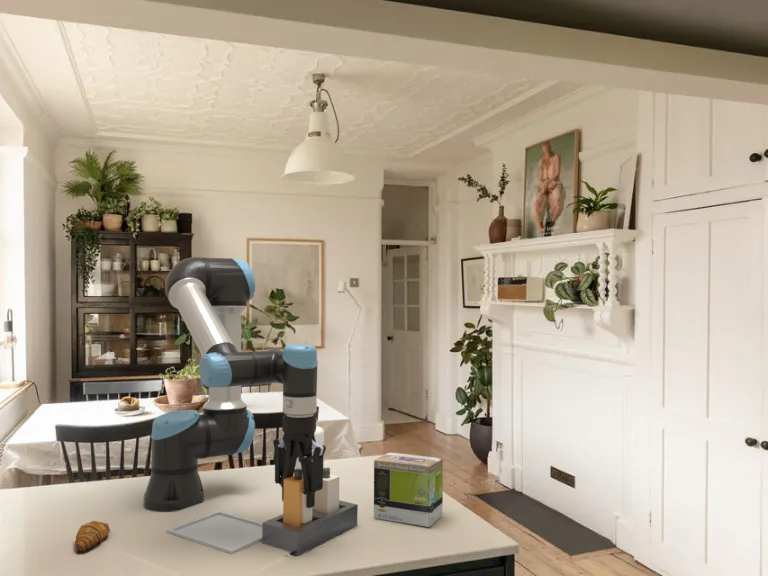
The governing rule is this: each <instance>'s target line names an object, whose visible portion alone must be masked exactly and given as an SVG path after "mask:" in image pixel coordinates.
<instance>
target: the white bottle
mask: <svg viewBox="0 0 768 576" xmlns="http://www.w3.org/2000/svg"><path fill="white" fill-rule="evenodd" d="M318 424H319V423H318V419H317V418H316V431H315V433H314V437H315V440H316V443H317V444H319V445H320V446H322V445H324V446H325V430H324V429H323V427H321V426H319V425H318ZM312 451H313V449H312ZM312 455H313V453H312ZM305 457H307V456H305ZM324 457H325V455H324V456H323V468H325V467H324V464H325V460H324V459H325V458H324ZM295 469H302V468H301V463H300V462H299V459H298V458H297V460H296V465H295ZM302 476H303V475H302Z"/></svg>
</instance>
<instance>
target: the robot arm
mask: <svg viewBox="0 0 768 576" xmlns="http://www.w3.org/2000/svg"><path fill="white" fill-rule="evenodd" d="M166 276H167V277H166V279H165V285H164V286H165V287H164V289H165V294H166V297H167V299H168V301H169V303H170V305H171V306H172V307H173V308H175V309H177V310H178V312H179V314H180V315H181V318H182V321H183V322H184V323H185V326H186V327H187V329H188V331H189V333H190V335H191V337H192V339H193V341H194V343H195V345H196V347H197V349H198V351H199V352H200V354H201V358H200V360H199V364H198V365H199V368H198V372H199V375H200V377H199V378H200V381H201V383H202V385H203V386H205V387H207V388H208V392H209V393H208V401H207V402H206V403H205V404H204V405H203V407H202V408H203V409H202V410H203V413H202V414H200V413H199V411H198V410H196V409H178V410H173V411H168V412H166V413H163V414H160V415H159V416H157V417H156V418H155V419H154V420H153V422H152V428H151V435H150V437H151V467H150V468H151V469H150V470H151V472H150V477H149V480H148V484H147V487H146V489H145V493H144V495H143V507H144V508H146V509H147V510H151V511H154V512H155V511H156V512H177V511H182V510H185V509H188V508H191V507H194V506H197V505H200V504H203V503H204V502H205V489H204V487H203V484H202V480H201V478H200V477H201V476H200V473H199V471H198V469H199V467H198V466H199V464H198V463H199V460H201V459H207V458H209V459H210V458H214V457H221V456H233V455H235V454H239V453H243V452H245V451H247V450H248V449H249V447H251V445H252V442H253V441H254V440H253V439H254V437H255V432H256V431H255V429H256V423H255V420H254V415H253V413H252V412H251V410H249V409H247V408H248V407H247V403H245V401H243V399H242V386H247V385H248V386H249V385H252V386H253V385H262V384H275V383H277V384H282V413H283V416H282V418H281V419H282V420H281V421H282V422H281V423H282V425H281V428H282V429H281V430H282V433H283V435H282V437H279V438H276V439H274V440H272V442H273V443H272V444H273V447H274V483H275V484H278V485H279V486H280V487H281V501H282V502H283V495H284V479H286V478H289V477H292V476H294V469H295V465H296V460H297V458H298V459H299V462H300V463H301V468H302V475H303V481H304V488H305V491H304V492H303V493H302V523H306V522H309V521H311V520H312V507H313V506H314V505H315V492H316V491H319V490H321V489H322V488H323V456H324V457H325V452H326V450H327V447H326V445H325V444H324V445H322V446H320V445H319V444H317V443H316V440H315V437H314V433H315V431H316V419H317V415H316V414H315V413H317V410H318V408H317V407H318V406H317V405H318V403H317V399H318V398H317V397H318V395H317V391H318V389H317V388H318V364H319V360H318V350H317V348H316V346H315V345H313V344H301V343H300V344H299V343H297V344H296V343H295V344H288V345H285V347H284V348H283V350H282V349H279V348H276V349H275V348H273V349H271V348H270V349H265V350H262V351H261V350H260V351H257V350H256V351H242V314H243V312H244V311H245V310H246V309H247V307H248V302H250V301H251V300H252V299H253V298H254V296H255V292H256V278H255V273H254V272H253V269H252V268H251V266H250V264H249V263H248V262H247V261H245V260H243V259H237V258H232V257H231V258H230V257H229V258H225V257H223V258H222V257H221V258H219V257H201V256H199V257H198V256H192V257H187V258H184V259H182V260H180V261H179V262H177V263H176V264H175V265H174V266H173V267H172V268H171V270H170V271H169V272H168V275H166ZM312 449H313V451H312ZM312 453H313V455H312ZM305 456H307V457H305Z"/></svg>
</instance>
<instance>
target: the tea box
mask: <svg viewBox="0 0 768 576" xmlns="http://www.w3.org/2000/svg"><path fill="white" fill-rule="evenodd" d="M443 460H444V459H443V458H442V457H437V456H428V455H427V456H426V455H420V454H419V455H417V454H410V453H403V452H402V453H400V452H392V451H391V452H387V453H385V454H384V455H382V456H380V457H378V458H376V459H374V460H373V518H374V519H379V520H384V521H391V522H396V523H402V524H409V525H413V526H420V527H426V528H430V527H431V526H432V525H434V524H435V523H436V522H437V521H438V520H439V519H440V518H441V517H442V516H443V506H444V505H443V499H444V498H443V493H444V491H443V488H444V487H443V486H444V485H443V479H444V478H443V477H444V475H443V474H444V473H443V472H444V471H443V467H444V465H443Z"/></svg>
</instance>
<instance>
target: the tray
mask: <svg viewBox="0 0 768 576" xmlns="http://www.w3.org/2000/svg"><path fill="white" fill-rule="evenodd" d="M263 522H264V521H263ZM263 522H262V521H259V520H257V519H252V518H249V517H244V516H240V515H238V514H234V513H230V512H227V511H224V510H216V511H214V512H211V513H209V514H205V515H203V516H200V517H197V518H195V519H193V520H190V521H186V522H184V523H181V524H178V525H175V526H173V527H171V528H168V529H166V530H165V531H166V534H169V535H172V536H176V537H178V538H181V539H183V540H187V541H190V542H194V543H197V544H200V545H203V546H206V547H209V548H212V549H214V550H217V551H220V552H224V553H227V554H230V555H233V554H236V553H238V552H240V551H242V550H244V549H247V548H249V547H252V546H253V545H256V544H258V543H260V542H262V523H263Z"/></svg>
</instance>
